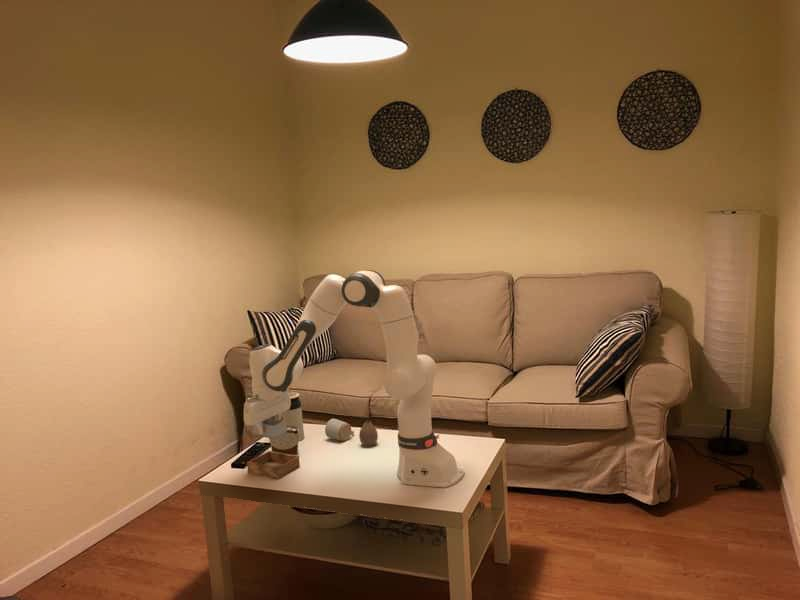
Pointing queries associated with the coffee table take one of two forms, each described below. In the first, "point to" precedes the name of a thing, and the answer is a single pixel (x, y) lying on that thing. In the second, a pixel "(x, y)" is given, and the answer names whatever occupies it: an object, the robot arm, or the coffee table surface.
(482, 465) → the coffee table surface
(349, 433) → the ceramic mug
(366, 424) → the vase
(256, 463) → the big crate
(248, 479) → the coffee table surface
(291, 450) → the food container
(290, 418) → the travel mug
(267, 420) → the small crate
